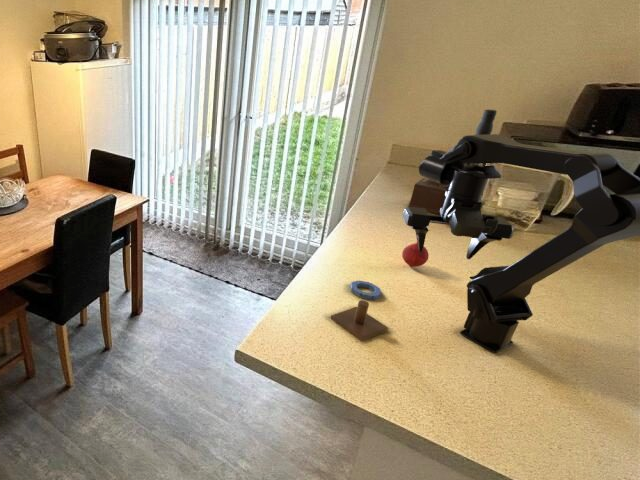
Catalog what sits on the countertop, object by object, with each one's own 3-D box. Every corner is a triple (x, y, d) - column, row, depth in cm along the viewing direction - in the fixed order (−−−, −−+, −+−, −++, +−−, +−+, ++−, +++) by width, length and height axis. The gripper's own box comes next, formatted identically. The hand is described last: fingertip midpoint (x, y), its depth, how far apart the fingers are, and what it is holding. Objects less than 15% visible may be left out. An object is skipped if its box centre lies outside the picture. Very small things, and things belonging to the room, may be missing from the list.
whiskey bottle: (477, 187, 162) (505, 109, 150) (482, 194, 155) (511, 113, 142) (446, 183, 168) (471, 107, 155) (449, 190, 160) (475, 111, 147)
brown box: (443, 216, 137) (459, 167, 130) (407, 207, 145) (420, 160, 138) (454, 204, 147) (470, 158, 140) (420, 196, 154) (433, 152, 147)
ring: (385, 295, 96) (386, 291, 96) (367, 302, 94) (368, 298, 94) (362, 282, 102) (363, 278, 101) (344, 288, 100) (345, 284, 99)
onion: (428, 273, 105) (437, 247, 102) (404, 271, 106) (412, 245, 103) (418, 262, 110) (426, 237, 107) (395, 260, 111) (402, 235, 108)
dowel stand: (387, 330, 85) (394, 308, 83) (361, 340, 82) (367, 318, 80) (355, 309, 92) (360, 288, 90) (330, 318, 89) (334, 297, 87)
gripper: (422, 200, 81) (403, 264, 87) (540, 212, 74) (510, 281, 80) (410, 183, 90) (394, 242, 97) (513, 192, 84) (488, 255, 90)
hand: (443, 254), depth 91 cm, fingers open, 9 cm apart
